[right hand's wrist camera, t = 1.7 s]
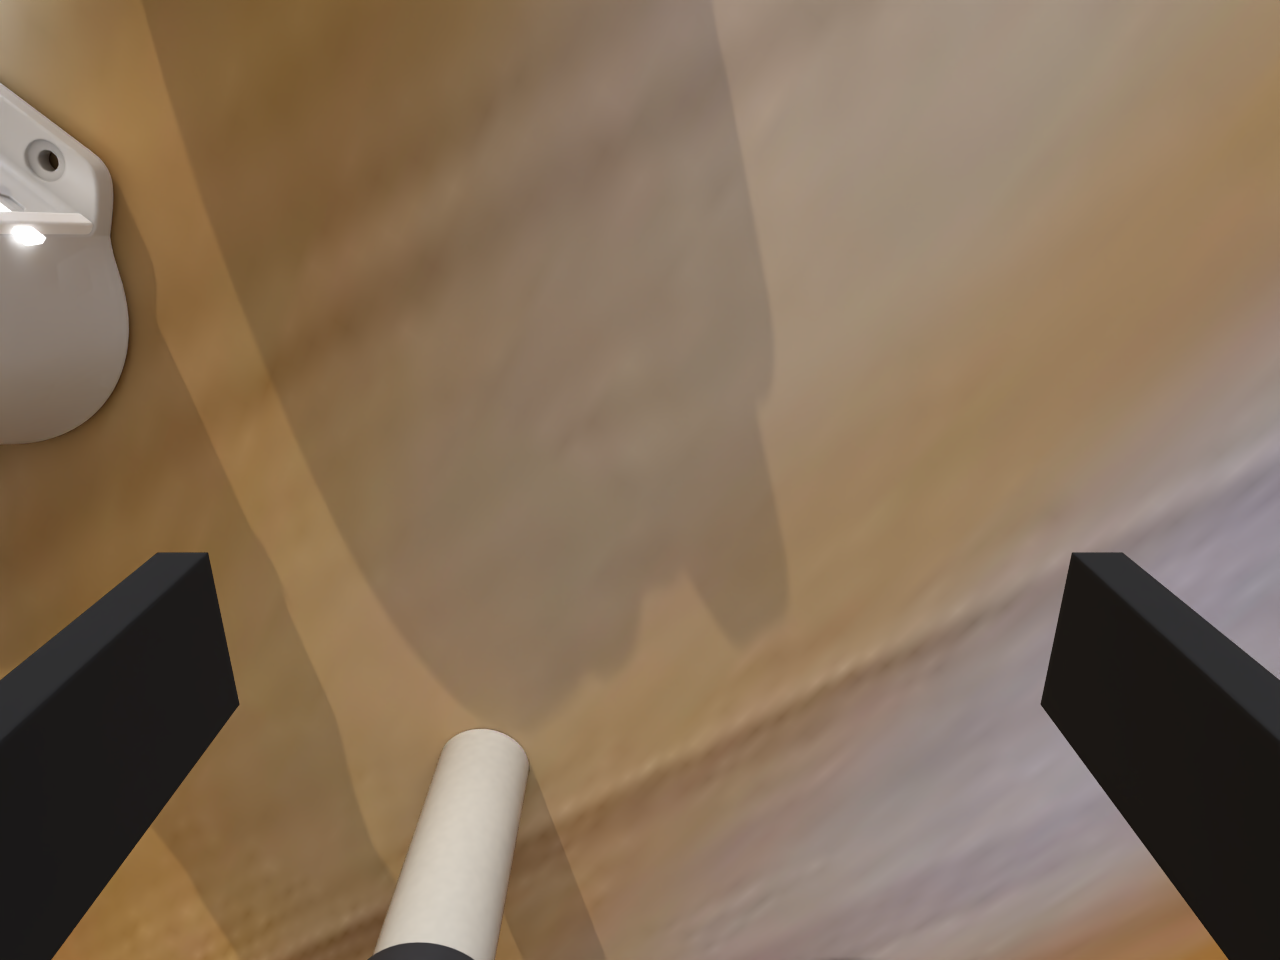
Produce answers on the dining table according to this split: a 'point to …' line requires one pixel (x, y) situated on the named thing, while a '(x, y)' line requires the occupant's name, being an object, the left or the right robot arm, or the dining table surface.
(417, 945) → the lid
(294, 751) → the dining table surface
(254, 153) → the dining table surface
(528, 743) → the dining table surface
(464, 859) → the jar
